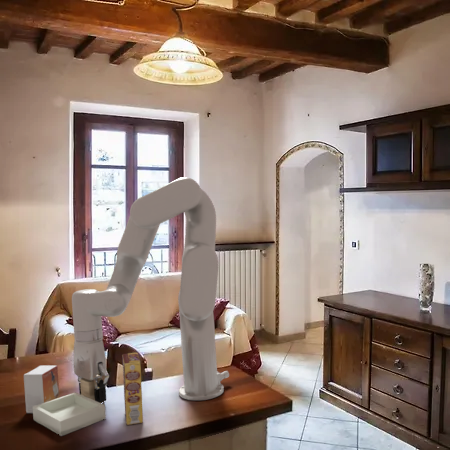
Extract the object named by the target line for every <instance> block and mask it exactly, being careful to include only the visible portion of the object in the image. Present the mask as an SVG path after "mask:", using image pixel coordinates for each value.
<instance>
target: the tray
mask: <svg viewBox="0 0 450 450" xmlns="http://www.w3.org/2000/svg"><path fill="white" fill-rule="evenodd" d="M106 416H107V414H106V405H105V403H103V404H101V403H99V402H97V401H95V400H92V399H90V398H88V397H85V396H83V395H81V394H80V393H78V392H72V393H69V394H67V395H63V396H59V398H57V399H54V400H51V401H48V402H45V403H42V404H39V405H36V406H33V413H32V417H33V421H34V422H36V423H37V424H40V425H41V426H43V427H45V428H46V429H48V430H50V431H52V432H53V433H56V434H57V435H58V434H59V436H60V437H63V436H66V435H68V434H70V433H73V432H77V431H78V430H81V429H84V428H85V427H88V426H91V425H93V424H96V423H99V422H101V421H104V420H106V419H107V417H106ZM105 418H106V419H105ZM103 419H104V420H103Z"/></svg>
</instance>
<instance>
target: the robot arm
mask: <svg viewBox="0 0 450 450" xmlns="http://www.w3.org/2000/svg"><path fill="white" fill-rule="evenodd" d="M129 209H130V210H129V217H128V220H127V223H126V225H125V229H124V231H123V234H122V236H121V239H120V241H119V244H118V245H117V251H116V259H115V260H116V261H115V265H114V268H113V270H112V271H113V272H112V273H111V277H110V279H109V282H108V285H107V287H106V289H105V290H102V291H101V290H100V291H99V290H97V289H95V288H94V289H93V288H91V289H90V288H87V289H78V290H76V291H74V292H73V293H72V295H71V307H72V319H73V321H72V322H73V334H74V335H73V337H74V342H73V373H74V374H75V375H76V376H77V383H78V389H79V393H78V394H81V385H80V379H82V378H85V379H87V380H93V382H94V385H95V388H96V389H94V395H95V401H97V402H99V403H101V402H104V401H105V402H106V401H107V390H106V389H107V385H108V381H109V378H110V374H109V373H108V371H107V360H106V359H107V358H106V352H105V347H104V346H105V345H104V341H103V339H104V336H103V335H104V333H103V332H104V331H103V321H102V317H111V318H114V317H119V316H121V315H122V314H123V313H125V311H126V310H127V308H128V306H129V304H130V302H131V300H132V296H133V294H134V291H135V288H136V285H137V283H138V280H139V278H140V275H141V272H142V270H143V267H144V266H145V265H146V262H147V261H148V260H147V259H148V257H149V254H150V251H151V248H152V246H153V244H154V240H155V238H156V236H157V233H158V232H159V231H158V230H159V228H160V225H161V224H162V223H165V222H168V221H169V220H170V219H173V218H175V217H177V216H179V215H181V214H182V213H184V215H185V236H184V247H183V253H182V256H181V277H180V286H179V288H180V289H179V292H178V298H177V299H178V300H177V302H178V311H179V312H178V313H179V327H180V344H181V345H180V346H181V358H182V359H181V360H182V373H183V376H182V377H183V385H182V386H181V387H179V390H178V395H179V396H180V398H182V399H183V400H188V401H206V400H211V399H215V398H217V397H219V396H221V395H222V394H223V393H224V390H225V389H224V388H225V387H224V385H223V384H222V383H221V381H223V380H225V379H227V378H229V377H230V373H229V371H228V370H225V371H223V372H219V371H218V368H217V367H218V366H217V363H218V362H217V352H216V350H217V349H216V332H215V331H216V330H215V329H216V328H215V315H214V310H215V306H216V299H217V289H218V279H219V278H218V276H219V257H218V255H217V252H216V239H217V238H216V236H217V235H216V234H217V233H216V232H217V214H216V213H217V212H216V209H215V205H214V203H213V201H212V199H211V198H210V196H209V194H207V192H206V191H204V189H202V188H201V187H200V185H199V182H197V181H196V180H195V179H193V178H190V177H186V176H185V177H179V178H177V179H175V180H172V181H171V182H169V183H167V184H166V185H162V187H159V188H157V189H155V190H153V191H151V192H149V193H147V194H145V195H143V196H140V197H139V198H137V199H135V200H134V202H133V203H132V204H131V207H130V208H129ZM96 376H97V377H96ZM97 379H101V380H100V381H99V383H98V381H97Z"/></svg>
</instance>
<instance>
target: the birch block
mask: <svg viewBox="0 0 450 450" xmlns="http://www.w3.org/2000/svg"><path fill="white" fill-rule="evenodd" d="M97 376H98V375H97ZM97 376H96V377H97ZM100 380H101V379H97V381H98V383H99V381H100ZM79 383H80V385H81V395H83V396H85V397H88V398H90V399H92V400H95V395H94V389H96V388H95V385H94V382H93V380H87V379H85V378H82V379H80V382H79ZM101 403H102V402H101Z"/></svg>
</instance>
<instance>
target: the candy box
mask: <svg viewBox="0 0 450 450" xmlns="http://www.w3.org/2000/svg"><path fill="white" fill-rule="evenodd" d="M121 356H122V357H121V358H122V377H123V396H124V397H123V399H124V413H125V422H126V425H127V426H128V425H135V424H137V425H138V424H142V423H143V422H144V417H143V416H144V415H143V393H142V392H143V391H142V369H141V365H142V364H141V360H140V357H139V353H138V352H128V353H123V354H122V355H121Z"/></svg>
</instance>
